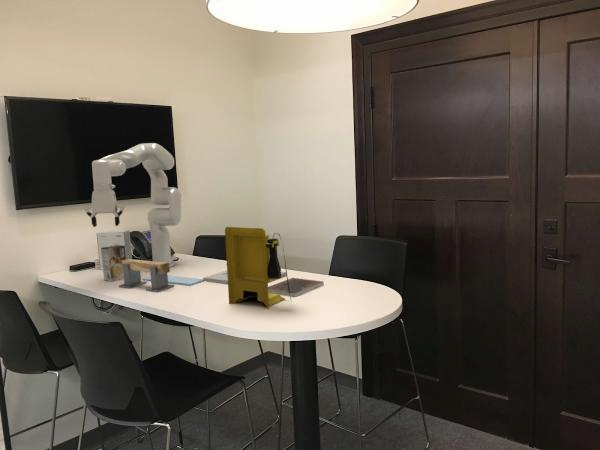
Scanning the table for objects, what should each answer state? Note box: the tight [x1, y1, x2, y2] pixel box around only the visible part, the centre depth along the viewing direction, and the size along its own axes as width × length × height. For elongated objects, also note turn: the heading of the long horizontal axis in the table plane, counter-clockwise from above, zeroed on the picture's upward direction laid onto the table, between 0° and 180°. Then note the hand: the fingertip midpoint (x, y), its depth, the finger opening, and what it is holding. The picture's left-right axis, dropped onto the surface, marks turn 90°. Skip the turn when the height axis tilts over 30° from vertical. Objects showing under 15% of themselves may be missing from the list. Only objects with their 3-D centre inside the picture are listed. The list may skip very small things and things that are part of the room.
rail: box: [121, 258, 171, 274], centre depth 224 cm, size 4×26×4 cm, turn 60°
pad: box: [142, 274, 204, 287], centre depth 235 cm, size 10×30×1 cm, turn 60°
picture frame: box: [268, 277, 324, 298], centre depth 212 cm, size 16×2×22 cm
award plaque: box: [202, 269, 287, 285], centre depth 234 cm, size 25×30×2 cm
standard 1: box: [118, 264, 148, 289], centre depth 228 cm, size 10×7×10 cm
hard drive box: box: [96, 230, 133, 269], centre depth 269 cm, size 16×8×20 cm, turn 84°
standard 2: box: [145, 266, 175, 293], centre depth 220 cm, size 10×7×10 cm
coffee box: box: [101, 245, 126, 282], centre depth 242 cm, size 9×6×16 cm
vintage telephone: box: [224, 226, 292, 310], centre depth 191 cm, size 31×14×30 cm, turn 59°
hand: (106, 226), depth 225 cm, fingers open, 9 cm apart
